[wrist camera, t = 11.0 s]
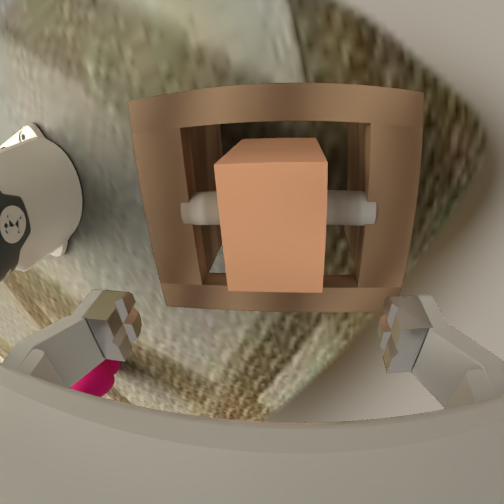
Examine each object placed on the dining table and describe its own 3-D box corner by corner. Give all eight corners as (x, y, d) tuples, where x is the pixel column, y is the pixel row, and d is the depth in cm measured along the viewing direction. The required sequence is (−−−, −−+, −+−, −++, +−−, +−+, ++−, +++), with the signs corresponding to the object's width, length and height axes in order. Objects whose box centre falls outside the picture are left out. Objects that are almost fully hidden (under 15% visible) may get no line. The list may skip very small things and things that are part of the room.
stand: (211, 227, 33) (165, 308, 21) (197, 95, 27) (125, 101, 15) (362, 228, 31) (396, 313, 19) (367, 91, 24) (425, 92, 12)
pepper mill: (129, 371, 49) (84, 464, 31) (100, 368, 50) (54, 452, 33) (111, 342, 46) (55, 439, 28) (81, 340, 47) (26, 426, 30)
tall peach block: (248, 228, 24) (228, 290, 17) (242, 139, 20) (213, 164, 13) (315, 229, 23) (322, 292, 16) (315, 137, 20) (327, 162, 13)
